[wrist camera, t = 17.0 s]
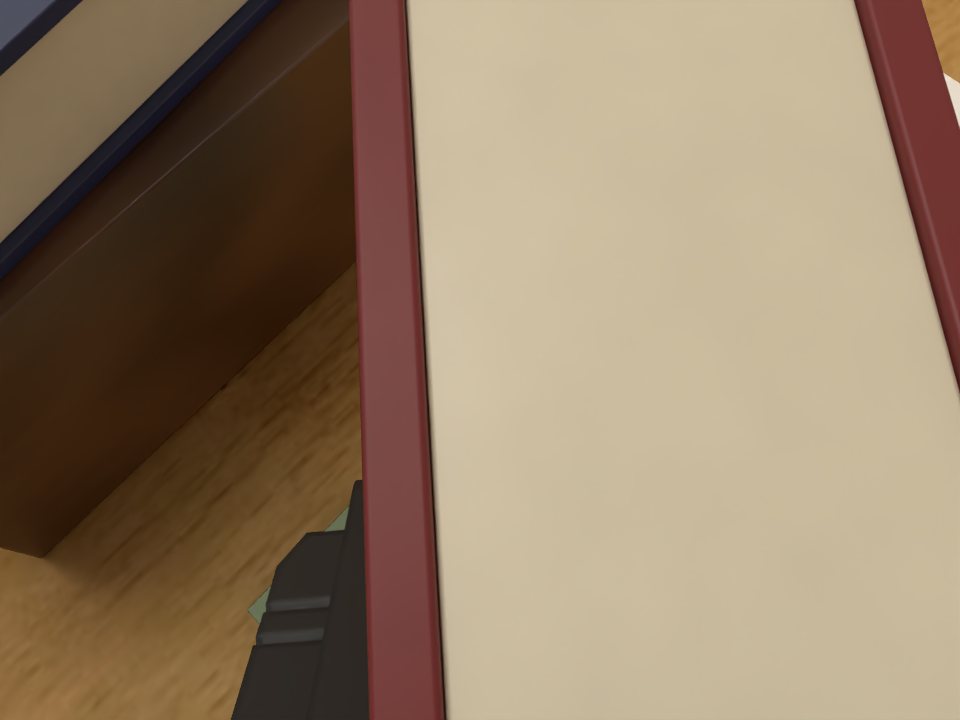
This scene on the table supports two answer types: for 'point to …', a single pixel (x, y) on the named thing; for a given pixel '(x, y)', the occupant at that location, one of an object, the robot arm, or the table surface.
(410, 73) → the top book
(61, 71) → the bottom book
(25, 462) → the riser
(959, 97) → the white block
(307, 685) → the robot arm
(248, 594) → the table surface
